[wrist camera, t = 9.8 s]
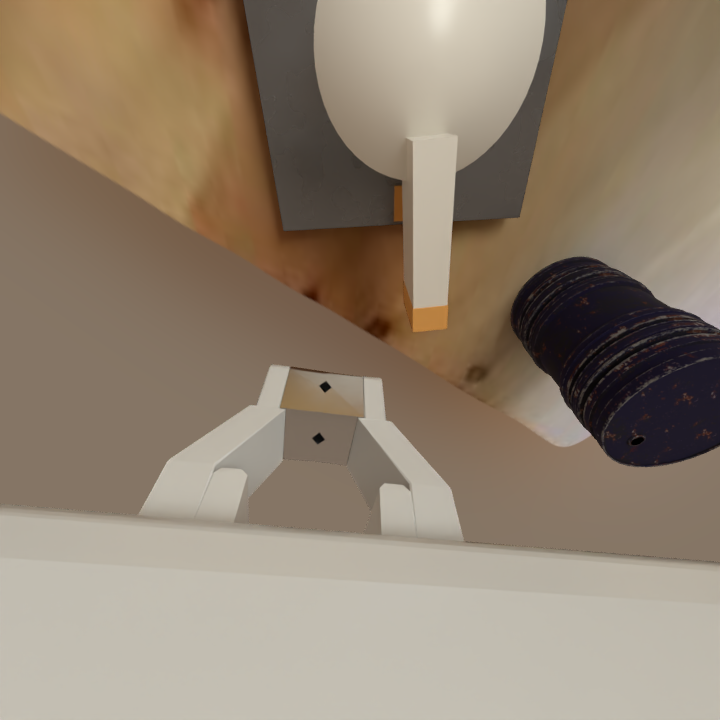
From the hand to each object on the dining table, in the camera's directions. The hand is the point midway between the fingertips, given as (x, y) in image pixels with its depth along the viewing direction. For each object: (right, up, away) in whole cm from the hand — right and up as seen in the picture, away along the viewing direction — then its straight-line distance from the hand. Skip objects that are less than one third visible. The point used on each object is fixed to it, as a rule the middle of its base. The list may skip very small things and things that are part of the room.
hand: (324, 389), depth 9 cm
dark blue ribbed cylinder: (+21, +6, +24) cm, 32 cm away
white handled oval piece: (+4, +13, +10) cm, 17 cm away
